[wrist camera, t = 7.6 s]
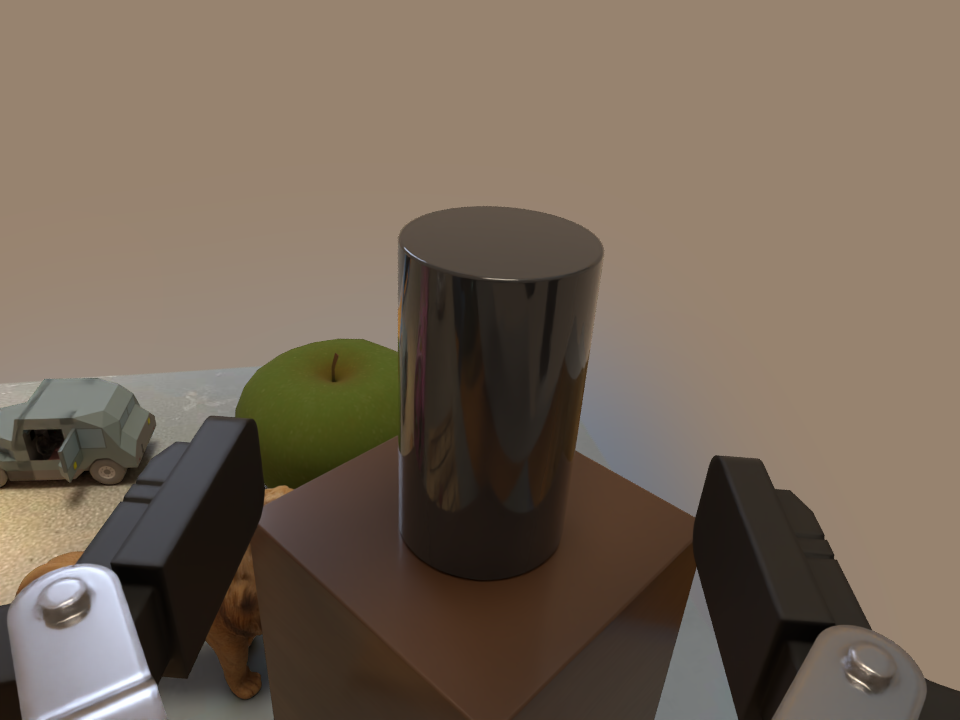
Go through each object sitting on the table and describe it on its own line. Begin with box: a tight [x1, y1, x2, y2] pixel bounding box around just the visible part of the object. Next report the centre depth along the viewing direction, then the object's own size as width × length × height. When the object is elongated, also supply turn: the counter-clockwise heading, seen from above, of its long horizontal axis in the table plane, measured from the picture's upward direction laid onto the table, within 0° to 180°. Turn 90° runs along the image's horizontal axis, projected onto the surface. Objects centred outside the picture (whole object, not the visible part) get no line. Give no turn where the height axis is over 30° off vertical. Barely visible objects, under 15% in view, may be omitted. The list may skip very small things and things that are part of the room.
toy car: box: [0, 378, 156, 487], centre depth 43 cm, size 6×10×5 cm, turn 97°
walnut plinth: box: [250, 436, 697, 720], centre depth 26 cm, size 10×10×14 cm
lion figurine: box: [16, 485, 294, 699], centre depth 31 cm, size 15×5×9 cm, turn 107°
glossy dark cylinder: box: [398, 206, 604, 580], centre depth 20 cm, size 5×5×9 cm
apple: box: [235, 339, 398, 489], centre depth 41 cm, size 11×10×10 cm
